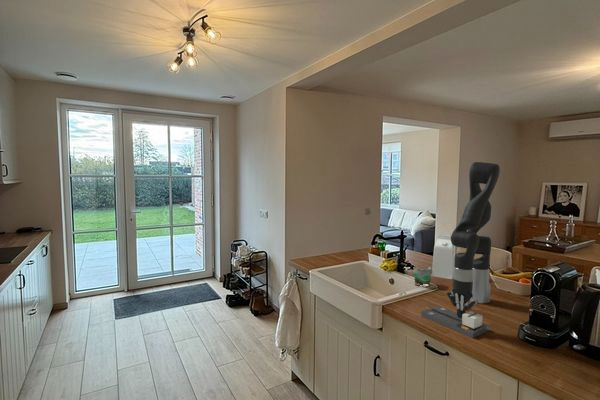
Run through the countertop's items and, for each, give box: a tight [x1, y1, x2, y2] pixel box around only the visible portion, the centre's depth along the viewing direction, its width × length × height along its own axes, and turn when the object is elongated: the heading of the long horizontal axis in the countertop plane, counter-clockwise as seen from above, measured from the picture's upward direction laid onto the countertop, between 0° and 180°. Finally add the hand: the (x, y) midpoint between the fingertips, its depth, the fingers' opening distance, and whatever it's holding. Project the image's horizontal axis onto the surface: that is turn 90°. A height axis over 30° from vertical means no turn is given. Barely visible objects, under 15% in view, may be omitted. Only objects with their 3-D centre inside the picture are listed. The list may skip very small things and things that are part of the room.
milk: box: [431, 234, 455, 280], centre depth 204 cm, size 12×12×26 cm
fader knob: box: [462, 310, 483, 329], centre depth 132 cm, size 5×6×4 cm
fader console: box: [420, 305, 490, 339], centre depth 139 cm, size 24×12×2 cm, turn 32°
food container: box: [413, 266, 432, 287], centre depth 185 cm, size 12×6×10 cm, turn 117°
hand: (460, 317), depth 136 cm, fingers closed
